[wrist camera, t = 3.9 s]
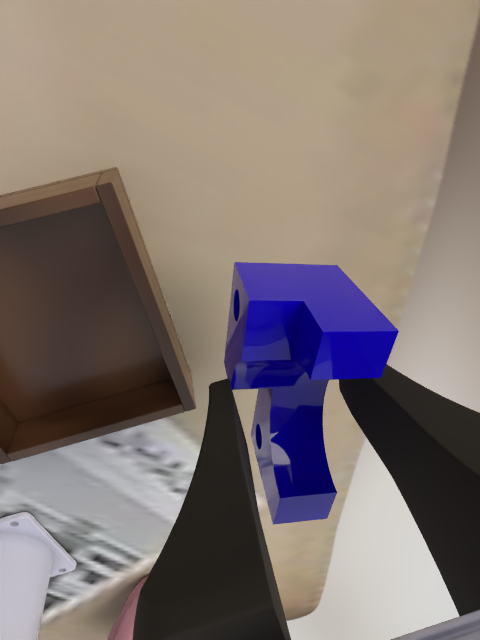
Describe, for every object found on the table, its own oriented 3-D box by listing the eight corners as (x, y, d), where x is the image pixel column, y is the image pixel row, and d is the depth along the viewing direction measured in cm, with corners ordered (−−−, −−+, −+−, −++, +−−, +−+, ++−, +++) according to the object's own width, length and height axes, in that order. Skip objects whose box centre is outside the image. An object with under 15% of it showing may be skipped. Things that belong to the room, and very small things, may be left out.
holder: (15, 424, 21) (0, 465, 19) (-139, 229, 15) (-191, 256, 13) (191, 375, 22) (196, 409, 20) (117, 166, 15) (111, 182, 13)
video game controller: (120, 570, 34) (87, 674, 30) (151, 573, 32) (121, 688, 27) (195, 592, 40) (177, 684, 35) (228, 596, 37) (213, 696, 32)
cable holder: (234, 262, 12) (261, 332, 9) (337, 265, 13) (398, 330, 9) (216, 436, 16) (230, 529, 13) (294, 431, 17) (327, 518, 14)
